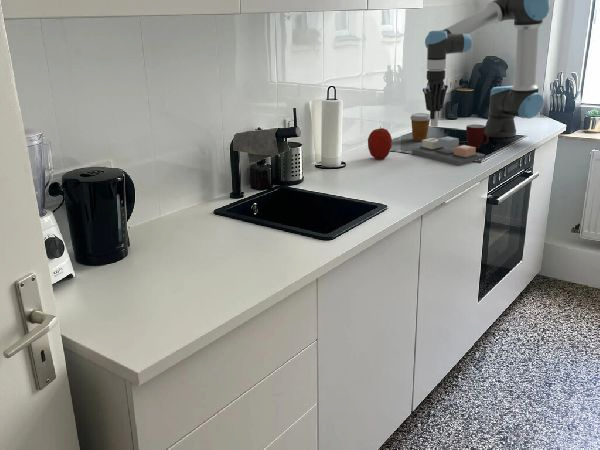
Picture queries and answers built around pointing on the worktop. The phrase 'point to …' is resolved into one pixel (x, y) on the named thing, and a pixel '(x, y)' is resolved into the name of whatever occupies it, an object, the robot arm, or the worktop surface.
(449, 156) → the keypad base
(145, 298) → the worktop surface
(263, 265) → the worktop surface
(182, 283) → the worktop surface
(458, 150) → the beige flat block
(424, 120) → the disposable coffee cup
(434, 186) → the worktop surface
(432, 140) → the key cream
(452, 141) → the key slate
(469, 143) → the mug
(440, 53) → the robot arm
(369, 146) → the apple
